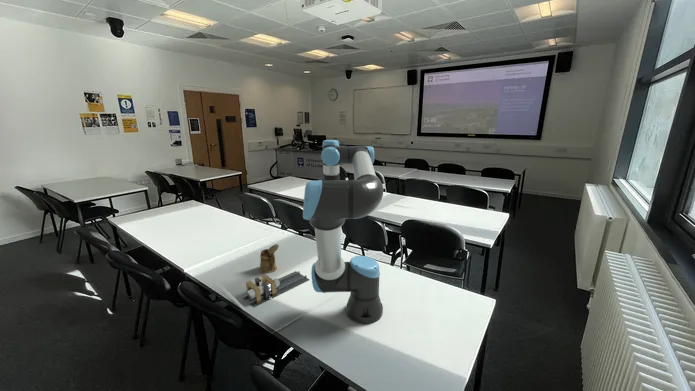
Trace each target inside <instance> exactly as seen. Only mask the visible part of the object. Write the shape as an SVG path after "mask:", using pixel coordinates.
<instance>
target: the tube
mask: <svg viewBox="0 0 695 391" xmlns="http://www.w3.org/2000/svg"><path fill="white" fill-rule="evenodd" d="M278 279H279V278H273V279H272V280H274V281H275V282H276V289H277V288H279V287H280V282H279V280H278ZM266 284H267V285H268V290H269V292H270V291H271V284H270V283H268V282H267V283H266ZM259 285H260V286H258V287H259V288H260V291H261V296H262V295H264V294H265V293H264V287H263V286H262V285H261V284H259ZM246 293H247V294H248V297H249V299H250V300H253V299H255V298H256V297H255V291H254V290H253V289H251V290H248V291H247V290H246Z"/></svg>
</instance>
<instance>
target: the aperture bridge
mask: <svg viewBox="0 0 695 391" xmlns="http://www.w3.org/2000/svg"><path fill="white" fill-rule="evenodd" d="M254 282H255V283H254V284H255V285H256V286H260V285H262V286H263V287H264V293H265V299H268V298H269V290H268V285H267V284H266V283H265V282H264V283H262V279H261V278H259V277H256V278H254Z"/></svg>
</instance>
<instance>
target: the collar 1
mask: <svg viewBox="0 0 695 391" xmlns="http://www.w3.org/2000/svg"><path fill="white" fill-rule="evenodd" d="M245 286H246V292H247V291H248V290H251V289H253V290H254V291H255V297H256V303H257V304H258V303H260V302H262V301H261V291H260V288H259V287H258V286H256V285H255V283H254V282H253V281H251V280H248V281H246V282H245Z"/></svg>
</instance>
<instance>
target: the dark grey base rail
mask: <svg viewBox="0 0 695 391" xmlns="http://www.w3.org/2000/svg"><path fill="white" fill-rule="evenodd" d="M307 276H308V275H303V274H301V272H300V271H296V270H295V271H293V272H291V273H289V274H286V275H284V276H281V277H280V278H277V279H278V280H279V282H280V287H279V288H277V289H276V293H277V294H276V295H274V296H272V295H271V291H270V292H269V298H268V299H265V294H264V295H262V296H261V301H262V302H260V303H258V304H257V303H256V298H255V299H253V300H250V299H249V297H248V294H247V292H246V293H244V294H242V295H240V297H241V298H243V300H244V301H246V303H247V304H249V305H250V307H252V308H256V307H258V306H259V305H262V304H264V303H266V302H268V301H270V300H273V299H274V298H276V297H278V296H280V295H282V294H285V293H286V292H287V293H288V291H290V290H293V289H295V288H296V287H298V286H301V285H302V284H305V283H307V282H309V281H311V279H309V278H308V277H307Z"/></svg>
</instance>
